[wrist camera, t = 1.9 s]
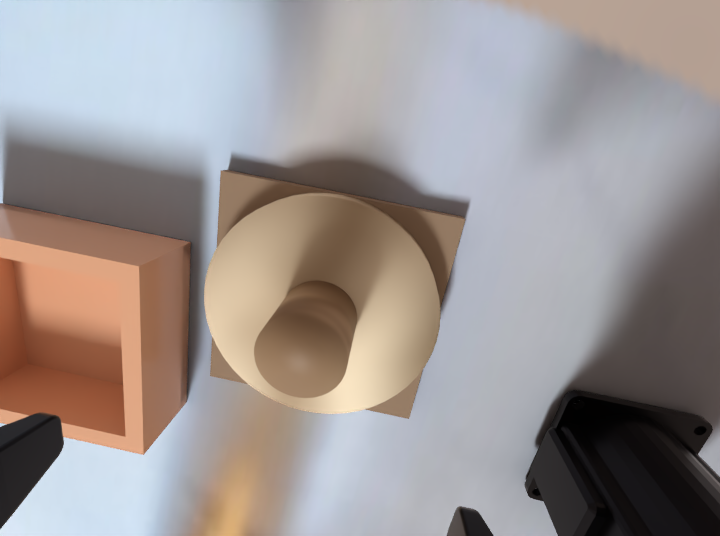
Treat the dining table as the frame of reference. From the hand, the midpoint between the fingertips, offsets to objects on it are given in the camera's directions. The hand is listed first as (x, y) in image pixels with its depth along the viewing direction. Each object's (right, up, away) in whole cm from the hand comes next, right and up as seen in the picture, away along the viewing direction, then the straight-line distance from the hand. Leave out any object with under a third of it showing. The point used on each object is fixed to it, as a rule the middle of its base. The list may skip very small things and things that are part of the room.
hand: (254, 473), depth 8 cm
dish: (-10, +2, +10) cm, 15 cm away
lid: (+1, +3, +8) cm, 9 cm away
